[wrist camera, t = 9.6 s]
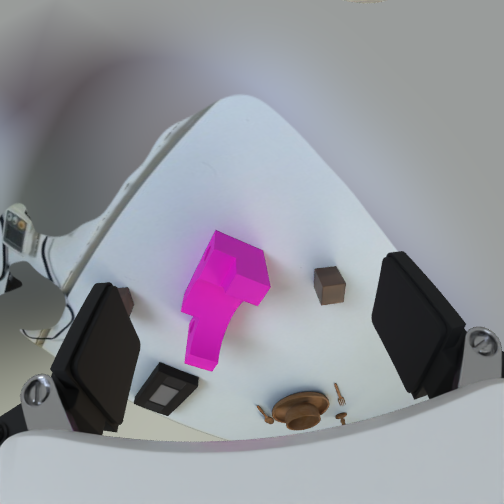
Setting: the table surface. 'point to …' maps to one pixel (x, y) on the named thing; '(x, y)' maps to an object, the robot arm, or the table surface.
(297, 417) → the place setting
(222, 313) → the toy block
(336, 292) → the brown cubes
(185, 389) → the vhs tape
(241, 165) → the table surface
